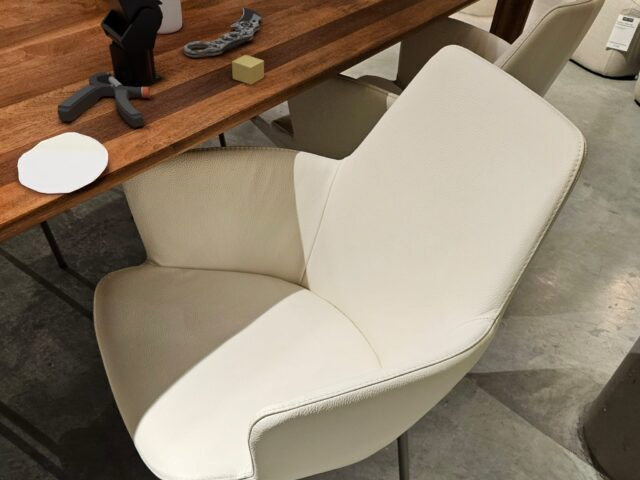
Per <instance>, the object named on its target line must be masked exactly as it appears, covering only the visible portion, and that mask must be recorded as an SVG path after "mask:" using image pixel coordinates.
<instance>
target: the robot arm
mask: <svg viewBox="0 0 640 480" xmlns="http://www.w3.org/2000/svg"><path fill="white" fill-rule="evenodd" d="M107 2H108V4H109V6H110V9H108V12H107V13H106V14H105V16H104V17H103V19H102V21H101V22H100V27H101V28H102V31H103V33H104V34H105V36H106V37H108V38H109V39H111V40H112V41H111V43H110V44H108V47H109V53H110V59H111V60H110V61H111V65H112V70H113V71H112V72H113V74H112V77H114V78H115V79H116V80H117V81H118V82H119V83H121V84H122V86H128V87H149V86H150V85H152V84H154V83H156V82H158V81H160V80H162V79H163V76H162V75H161V74H158V73H157V72H156V64H155V57H154V49H155V45H156V40H157V35H158V33H157V31H158V30H159V29H160V27H161V24H162V19H163V13H162V11H161V8H160V7H159V5H162V2H161V1H160V0H107Z"/></svg>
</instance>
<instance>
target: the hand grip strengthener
mask: <svg viewBox="0 0 640 480" xmlns="http://www.w3.org/2000/svg"><path fill="white" fill-rule="evenodd" d="M112 75H113V74H112V72H107V71H102V72H101V71H100V72H96V73H94V74H92V75H91V76H90V77H89V78H88V83H89V84H86V85H85V86H83V87H81V88H80V89H78V90H77V91H75V92H74V93H72V94H71V95H70V96H68V97H67V98H66V99H64V100H63V101H61V102H60V103H59V104H58V105H57V110H56V111H57V116H58V119H59V121H63V122H68V123H69V122H73V121H74V120H76V119H77V118H78V117H79V116H80V115H82V114H83V113H84V112H85V111H87V110H88V109H90V108H91V107H92V106H94V105H95V104H96V103H98V102H99V99H101V98H102V97H114V100H115V105H116V108H117V111H118V112H119V114H120V116H121V118H123V120H124V121H125V122H126V123H127V124H128V125H129V126H131V127H132V128H138V127H142V126H143V127H144V126H145V125H144V122H145V121H144V117H143V113H142V112H140V111H139V110H137V109H136V108H135V107H134V106H133V105H132V104H131V103H130V99H131V98H142V99H150V98H151V92H150V91H151V90H150V87H149V86H146V87H128V86H122V84H121V83H119V82H118V81H117V80H116V79H115V78H114V77H112Z"/></svg>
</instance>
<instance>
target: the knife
mask: <svg viewBox="0 0 640 480" xmlns="http://www.w3.org/2000/svg"><path fill="white" fill-rule="evenodd" d="M242 11H243V14H242V15H241V17H240V19H239V20H238V21H236V22H234V23H233V24H231V25H230V27H229V29H234V31H229V32H226V33H224V34H222V35H220V36H219V37H218V38H217V39H215V40H212V41H203V40H195V41H191V42H188V43H186V44H185V45H184V46H183V53H184V54H185V56H187V57H189V58H194V59H196V58H203V57H213V56H218V55H221V54H222V53H224V52H225V51H227V50H231V49H233V48H236V47H238V46H241V45H242V44H244V43H246V42H248V41H252V40H253V39H254V34H255V33H256V32H258V31H259V30H260V23H259V21H261V20H262V19H263V16H262V15H261V14H260V13H259V12H257V11H256V10H254V9H251V8H248V7H244V6H242ZM194 49H195V50H194ZM196 49H198V50H196ZM199 49H200V50H199Z"/></svg>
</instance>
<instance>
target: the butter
mask: <svg viewBox="0 0 640 480" xmlns="http://www.w3.org/2000/svg"><path fill="white" fill-rule="evenodd" d="M231 62H232V63H231V71H232V74H231V75H232V80H236V81H239V82H241V83H245V84H247V85H250V86H252V85H253V84H256V83H257V82H259V81H260V80H263V79H264V78H265V60H263V59H260V58H257V57H254V56H251V55H248V54H244V55H242V56H240V57H238V58H236V59H234V60H232V61H231Z"/></svg>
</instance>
